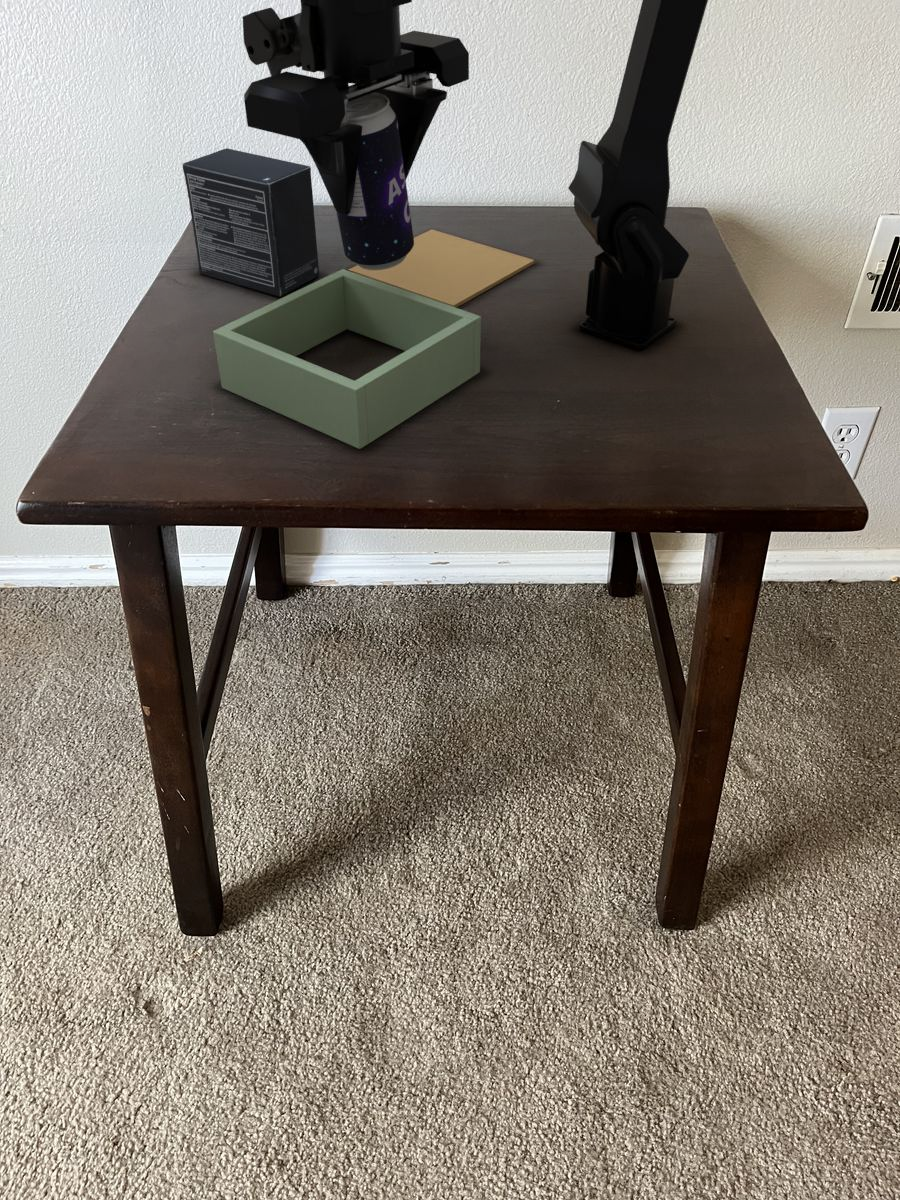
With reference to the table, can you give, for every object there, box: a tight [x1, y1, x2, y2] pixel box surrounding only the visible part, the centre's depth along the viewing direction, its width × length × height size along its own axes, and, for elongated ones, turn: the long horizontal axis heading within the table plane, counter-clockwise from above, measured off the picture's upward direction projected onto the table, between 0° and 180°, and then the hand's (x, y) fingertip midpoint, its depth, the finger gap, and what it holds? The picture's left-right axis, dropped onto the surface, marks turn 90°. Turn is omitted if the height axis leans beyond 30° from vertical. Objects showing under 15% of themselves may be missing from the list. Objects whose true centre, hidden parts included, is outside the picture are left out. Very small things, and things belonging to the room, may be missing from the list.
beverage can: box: [335, 92, 415, 270], centre depth 80 cm, size 6×6×12 cm
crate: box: [212, 268, 482, 450], centre depth 84 cm, size 15×15×5 cm
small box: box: [182, 147, 320, 298], centre depth 98 cm, size 11×6×10 cm, turn 58°
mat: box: [347, 229, 535, 308], centre depth 102 cm, size 13×13×1 cm
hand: (370, 201), depth 81 cm, fingers closed on beverage can, 6 cm apart
